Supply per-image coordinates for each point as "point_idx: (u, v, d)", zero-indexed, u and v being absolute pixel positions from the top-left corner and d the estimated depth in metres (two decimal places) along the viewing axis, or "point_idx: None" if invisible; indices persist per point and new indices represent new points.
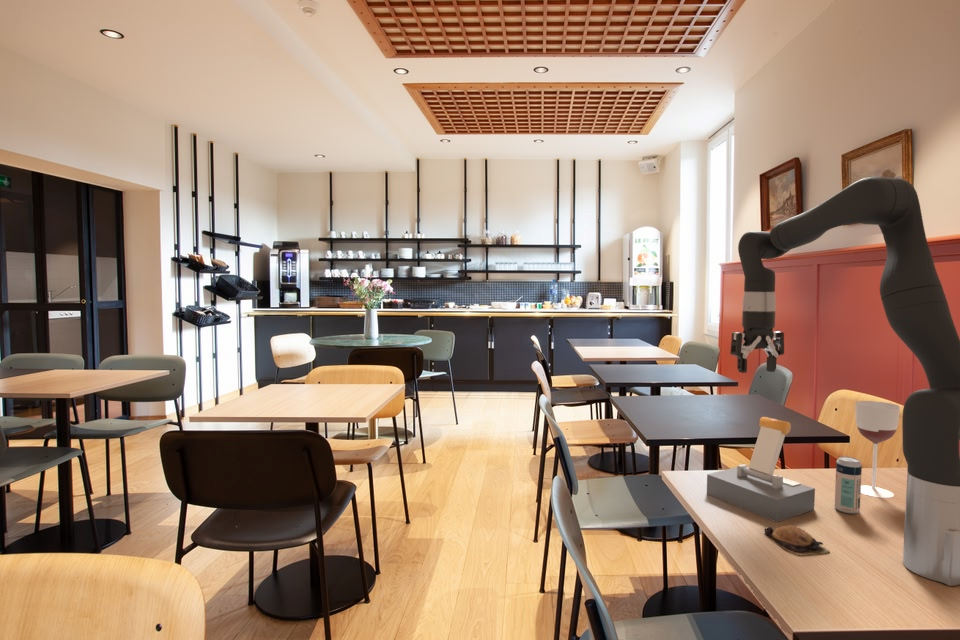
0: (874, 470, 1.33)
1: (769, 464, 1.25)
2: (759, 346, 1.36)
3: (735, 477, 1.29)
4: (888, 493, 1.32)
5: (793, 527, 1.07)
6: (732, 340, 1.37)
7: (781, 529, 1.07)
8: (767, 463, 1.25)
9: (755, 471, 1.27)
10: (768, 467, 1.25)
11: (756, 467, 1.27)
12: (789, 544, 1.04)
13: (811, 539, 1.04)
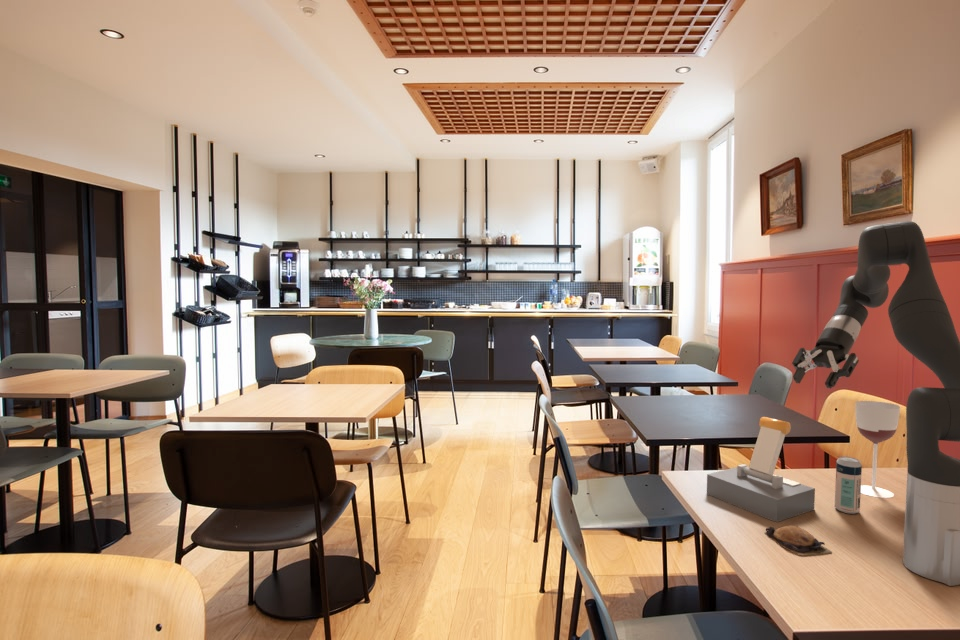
0: (874, 470, 1.33)
1: (769, 464, 1.25)
2: (820, 360, 1.37)
3: (735, 477, 1.29)
4: (888, 493, 1.32)
5: (795, 527, 1.07)
6: None
7: (783, 529, 1.07)
8: (767, 463, 1.25)
9: (755, 471, 1.27)
10: (768, 467, 1.25)
11: (756, 467, 1.27)
12: (791, 544, 1.04)
13: (813, 539, 1.04)
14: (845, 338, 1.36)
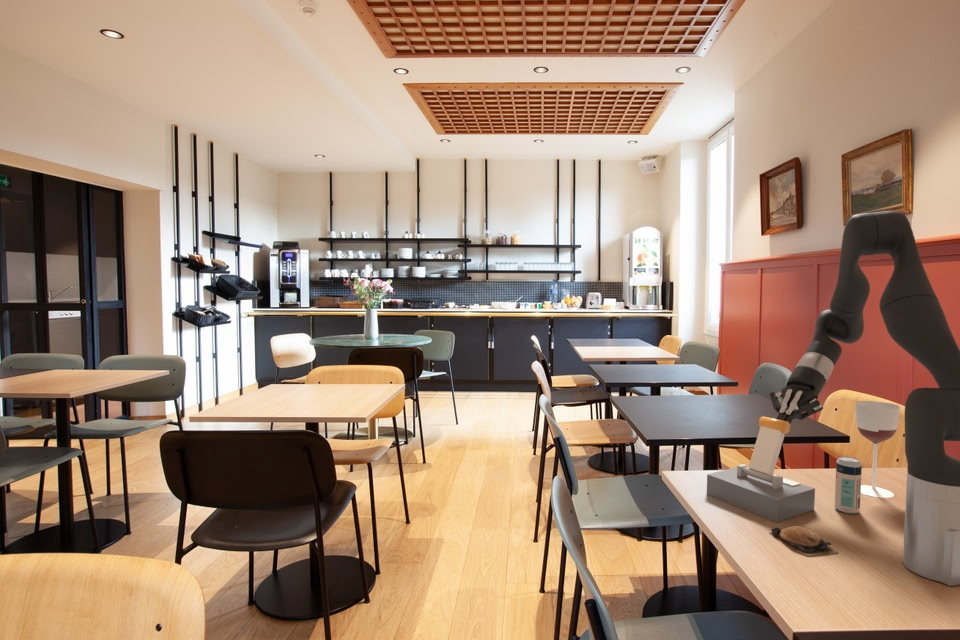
0: (874, 470, 1.33)
1: (769, 464, 1.25)
2: (790, 400, 1.32)
3: (735, 477, 1.29)
4: (888, 493, 1.32)
5: (801, 527, 1.07)
6: None
7: (789, 529, 1.07)
8: (767, 463, 1.25)
9: (755, 471, 1.27)
10: (768, 467, 1.25)
11: (756, 467, 1.27)
12: (797, 544, 1.03)
13: (819, 539, 1.04)
14: (816, 378, 1.30)
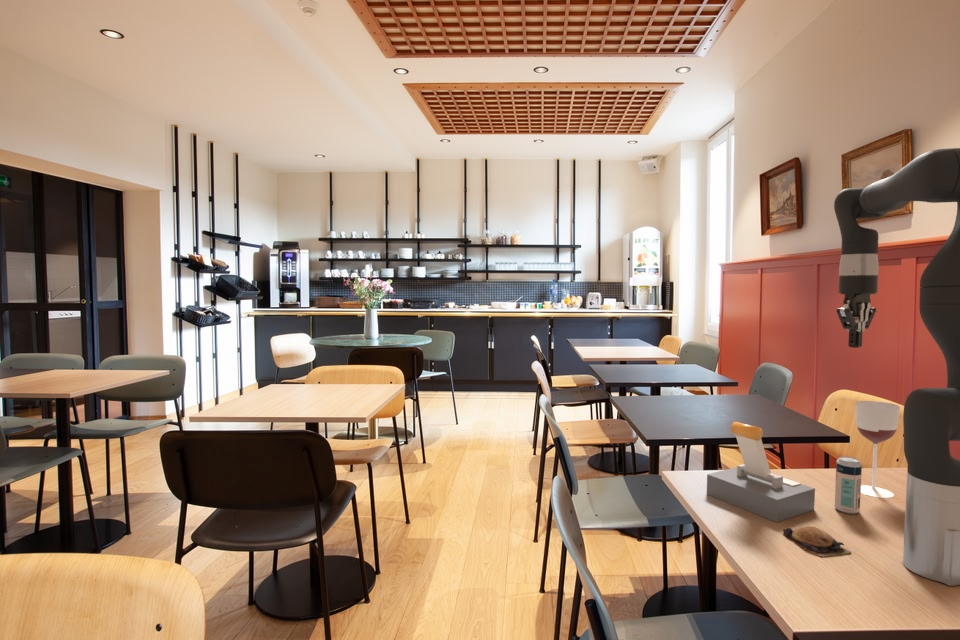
0: (874, 470, 1.33)
1: (762, 469, 1.24)
2: None
3: (735, 477, 1.29)
4: (888, 493, 1.32)
5: (813, 528, 1.06)
6: (840, 317, 1.24)
7: (801, 530, 1.07)
8: (760, 468, 1.24)
9: (754, 474, 1.27)
10: (763, 472, 1.24)
11: (753, 471, 1.26)
12: (810, 545, 1.03)
13: (832, 540, 1.03)
14: None
